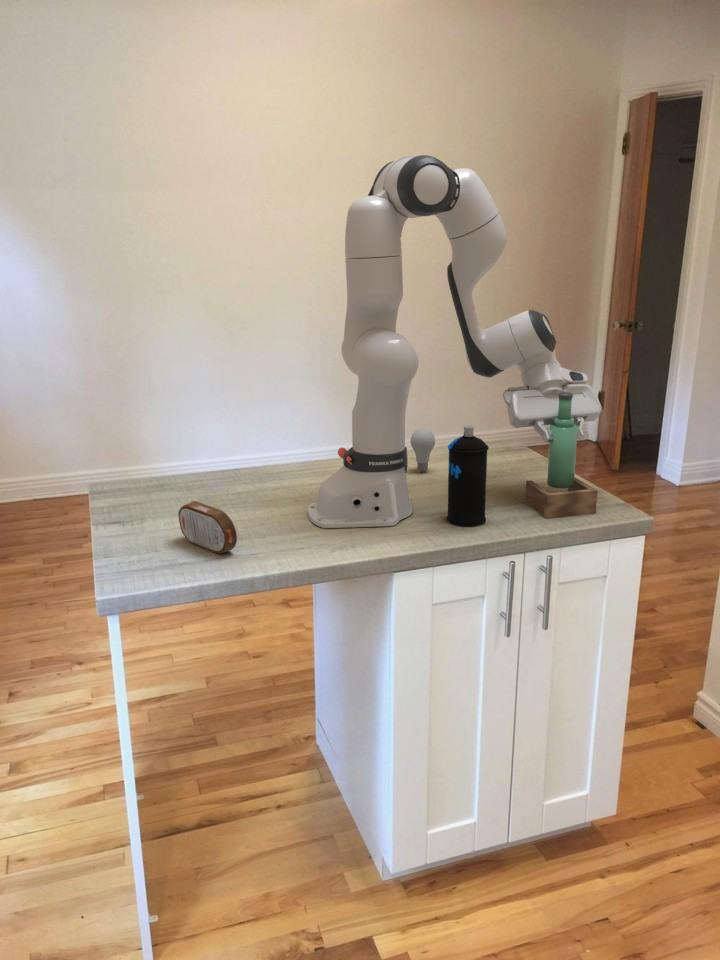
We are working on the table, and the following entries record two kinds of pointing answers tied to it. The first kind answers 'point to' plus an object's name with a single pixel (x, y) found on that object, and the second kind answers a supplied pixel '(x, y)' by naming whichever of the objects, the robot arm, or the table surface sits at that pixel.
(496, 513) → the table surface
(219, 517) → the tin
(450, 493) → the aerosol can
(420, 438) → the lightbulb
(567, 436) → the bottle
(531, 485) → the u rest
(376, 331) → the robot arm
